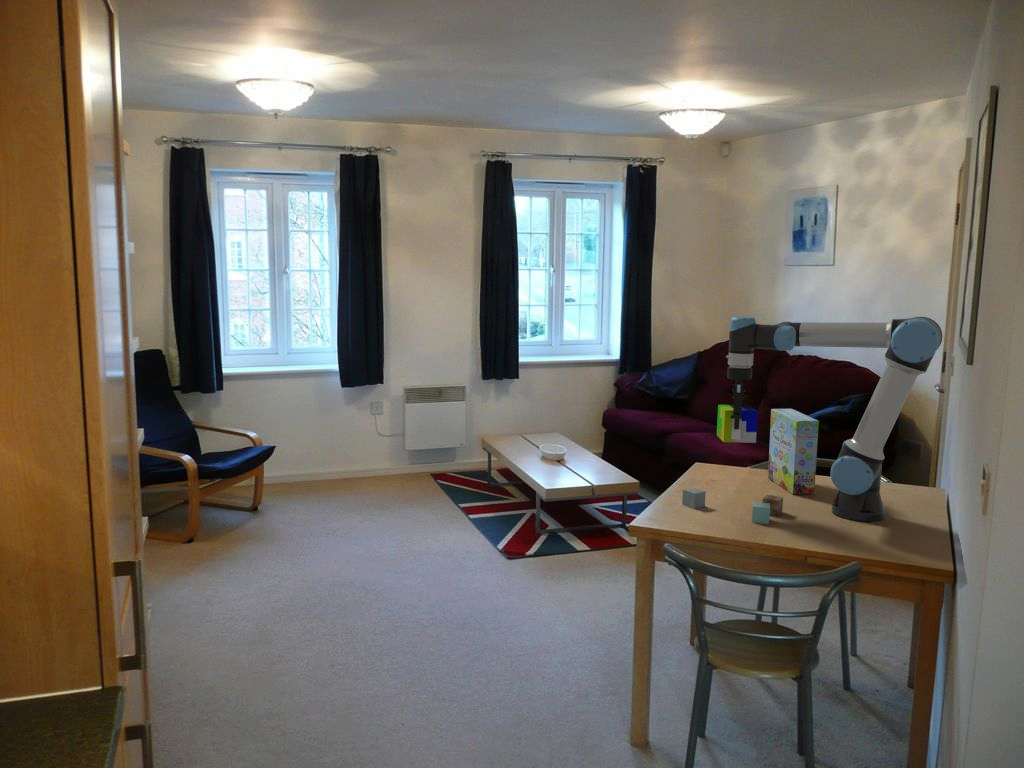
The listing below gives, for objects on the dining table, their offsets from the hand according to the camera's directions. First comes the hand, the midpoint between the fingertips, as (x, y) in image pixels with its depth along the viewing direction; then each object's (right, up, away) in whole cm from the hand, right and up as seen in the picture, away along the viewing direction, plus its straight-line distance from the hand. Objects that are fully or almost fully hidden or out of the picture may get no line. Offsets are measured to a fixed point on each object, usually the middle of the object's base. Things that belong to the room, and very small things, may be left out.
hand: (736, 435), depth 268 cm
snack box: (+26, -20, +28) cm, 43 cm away
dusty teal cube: (+4, -25, -11) cm, 28 cm away
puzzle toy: (0, -1, 0) cm, 1 cm away
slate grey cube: (-13, -23, +3) cm, 26 cm away
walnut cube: (+10, -24, -3) cm, 26 cm away
